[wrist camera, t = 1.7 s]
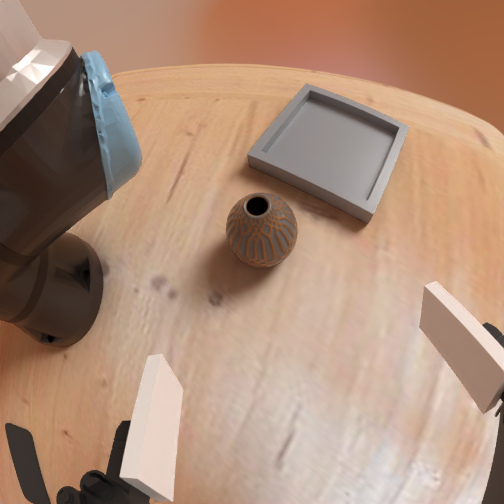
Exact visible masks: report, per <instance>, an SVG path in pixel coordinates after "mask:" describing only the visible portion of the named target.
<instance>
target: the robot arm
mask: <svg viewBox="0 0 504 504" xmlns="http://www.w3.org/2000/svg"><path fill="white" fill-rule="evenodd" d="M115 89H116V87H115V85H114V83H113V81H112V78H111V75H110V72H109V70H108V68H107V66H106V64H105V62H104V60H103V58H102V57H101V55H100V54H99V53H98V52H97V51H91V52H89V53H88V52H85V53H84V54H82V55H81V56H80V58H79V57H78V56H77V54H76V52H75V50H74V49H73V47H72V45H71V44H70V42H69V41H64V40H48V39H43V38H42V37H40V35H39V33H38V32H37V30H36V29H35V27H34V25H33V23H32V22H31V20H30V18H29V17H28V15H27V13H26V12H25V10H24V8H23V7H22V5H21V3H20V1H19V0H0V320H1V321H6V322H9V323H13V324H14V325H16V326H17V327H18V328H20V329H21V330H22V331H24V332H25V333H27V334H28V335H29V336H31V337H32V338H34V339H35V340H37V341H38V342H40V343H43V344H46V345H51V346H58V347H64V346H69V345H71V344H73V343H75V342H77V341H78V340H80V339H81V338H82V337H83V336H84V335H85V334H86V333H87V332H88V330H89V329H90V327H91V326H92V324H93V322H94V320H95V318H96V316H97V313H98V311H99V308H100V304H101V300H102V293H103V274H102V268H101V264H100V261H99V258H98V256H97V254H96V252H95V251H94V249H93V248H92V247H91V246H90V245H89V244H88V243H86V242H85V241H83V240H82V239H80V238H79V237H77V236H76V235H73V234H71V233H66V231H67V230H69V229H70V228H71V227H72V226H73V225H75V224H76V223H77V222H78V221H80V220H81V219H82V218H83V217H85V216H86V215H87V214H88V213H90V212H91V211H92V210H94V209H95V208H96V207H97V206H99V205H100V204H101V203H103V202H104V201H105V200H109V199H110V198H111V197H112V196H113V193H114V192H115V191H116V190H118V189H119V188H120V187H121V186H123V185H124V184H125V183H126V182H128V181H129V180H130V179H132V178H133V177H134V176H135V175H136V174H137V172H138V171H139V168H140V166H141V163H142V152H141V148H140V145H139V142H138V139H137V136H136V134H135V131H134V129H133V126H132V123H131V121H130V119H129V116H128V114H127V111H126V109H125V107H124V104H123V102H122V100H121V98H120V95H119V94H118V92H117V91H116V90H115ZM419 327H420V328H421V330H422V331H423V332H424V333H425V335H426V336H427V337H428V338H429V340H430V341H431V342H432V344H433V345H434V346H435V347H436V349H437V350H438V351H439V353H440V354H441V355H442V357H443V358H444V359H445V361H446V362H447V363H448V365H449V366H450V367H451V369H452V370H453V371H454V373H455V374H456V376H457V377H458V378H459V380H460V381H461V382H462V384H463V385H464V387H465V388H466V390H467V391H468V392H469V394H470V395H471V397H472V398H473V400H474V401H475V403H476V404H477V406H478V407H479V409H480V410H481V412H482V413H483V414H484V413H486V412H487V411H489V410H490V409H492V408H493V407H495V406H496V404H497V402H498V401H499V399H500V398H501V400H502V401H503V403H502V404H501V406H500V407H499V409H498V410H497V412H496V414H495V417H497V416H498V414H499V413H500V421H499V429H498V436H497V442H496V448H495V453H494V458H493V463H492V467H491V472H490V476H489V480H488V483H487V487H486V491H485V494H484V497H483V501H482V504H504V335H502V333H501V332H500V331H499V330H498V329H497V328H496V327H495V326H493V325H491V324H489V323H487V322H486V323H485V324H483V325H481V324H480V323H479V322H478V321H477V320H476V319H475V318H474V317H473V316H472V315H471V314H470V313H469V312H468V311H467V310H466V309H465V308H464V307H463V306H462V305H461V304H460V303H459V302H458V301H457V300H456V299H455V298H454V297H453V296H451V295H450V294H449V293H448V292H447V291H446V290H445V289H444V288H443V287H442V286H441V285H440V284H438V283H437V282H436V281H435V282H432V283H429V284H427V285H424V293H423V303H422V312H421V319H420V326H419ZM182 396H183V388H182V386H181V385H180V383H179V381H178V380H177V378H176V377H175V375H174V373H173V372H172V370H171V368H170V367H169V365H168V363H167V362H166V360H165V358H164V356H163V355H162V354H157V355H150V356H148V358H147V361H146V365H145V369H144V372H143V376H142V380H141V384H140V387H139V391H138V395H137V399H136V403H135V407H134V411H133V415H132V420H131V421H122V422H121V424H120V425H119V427H118V428H117V430H116V434H115V438H114V442H113V446H112V448H113V449H112V450H111V454H110V459H109V463H108V468H107V472H106V475H105V474H104V473H102V472H100V471H98V470H92V471H89V472H87V473H86V474H85V475H83V477H82V479H81V481H80V488H81V491H78V490H76V489H75V488H73V487H70V486H65V487H63V488H61V489H60V490H59V491H58V494H57V500H56V501H57V504H150V503H149V499H150V498H152V499H154V500H155V501H163V502H173V494H174V480H175V467H176V455H177V444H178V433H179V423H180V414H181V405H182ZM500 411H501V412H500Z"/></svg>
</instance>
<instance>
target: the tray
mask: <svg viewBox="0 0 504 504" xmlns="http://www.w3.org/2000/svg"><path fill="white" fill-rule="evenodd" d="M408 129H409V126H407V125H405V124H403V123H401V122H399V121H397V120H395V119H393V118H391V117H389V116H387V115H385V114H383V113H380V112H378V111H376V110H374V109H372V108H369V107H367V106H365V105H362V104H360V103H358V102H355V101H353V100H350V99H348V98H345V97H343V96H340V95H337V94H335V93H332V92H329V91H327V90H324V89H321V88H318V87H315V86H312V85H309V84H305V85H304V87H303V88H302V89H301V90H300V91H299V92H298V93H297V95H296V96H295V97H294V98H293V99H292V100H291V101H290V103H289V104H288V105H287V106H286V107H285V109H284V110H283V111H282V112H281V113H280V114H279V116H278V117H277V118H276V119H275V120H274V122H273V123H272V124H271V125H270V126H269V128H268V129H267V130H266V131H265V133H264V134H263V135H262V136H261V137H260V139H259V140H258V141H257V142H256V144H255V145H254V146H253V147H252V149H251V150H250V151H249V152H248V154H247V156H248V161H249V166H250V167H252V168H255V169H257V170H259V171H261V172H264V173H266V174H268V175H270V176H272V177H275V178H277V179H279V180H281V181H283V182H285V183H288V184H290V185H292V186H294V187H296V188H298V189H300V190H302V191H304V192H306V193H308V194H311V195H313V196H315V197H317V198H319V199H321V200H323V201H325V202H327V203H329V204H331V205H333V206H335V207H336V208H338V209H340V210H342V211H344V212H346V213H348V214H350V215H352V216H354V217H356V218H357V219H359V220H361V221H363V222H365V223H367V224H368V223H369V222H370V220H371V218H372V216H373V214H374V212H375V210H376V208H377V206H378V203H379V201H380V199H381V196H382V194H383V192H384V190H385V187H386V185H387V182H388V180H389V178H390V175H391V173H392V170H393V168H394V165H395V163H396V160H397V158H398V155H399V153H400V150H401V147H402V145H403V142H404V139H405V137H406V134H407V131H408Z"/></svg>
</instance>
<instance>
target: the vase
mask: <svg viewBox="0 0 504 504" xmlns="http://www.w3.org/2000/svg"><path fill="white" fill-rule="evenodd" d="M226 236H227V240H228V243H229V245H230V247H231V249H232V251H233V252H234V254H235V255H236V256H237V257H238V258H239V259H240V260H241V261H243V262H244V263H246V264H248V265H251V266H254V267H261V268H264V267H271V266H274V265H277V264H279V263H280V262H282V261H283V260H284V259H286V258H287V257H288V255H289V254H290V253H291V252H292V250H293V248H294V246H295V243H296V239H297V222H296V218H295V216H294V214H293V212H292V210H291V209H290V207H289V206H288V205H287V204H286V203H285V202H284V201H283V200H282V199H280V198H279V197H277V196H275V195H272V194H268V193H254V194H250V195H248V196H246V197H244V198H242V199H241V200H239V201H238V202H237V203H236V204H235V205H234V207H233V208H232V210H231V211H230V213H229V216H228V219H227V224H226Z"/></svg>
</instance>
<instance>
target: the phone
mask: <svg viewBox="0 0 504 504" xmlns="http://www.w3.org/2000/svg"><path fill="white" fill-rule="evenodd" d="M5 429H6V434H7V439H8V444H9V448H10V452H11V456H12V460H13V463H14V467H15V470H16V473H17V477H18V480H19V483H20V486H21V489H22V492H23V494H24V496H25V498H26V499H27V500H28V501H30V502H31V503H33V504H51V502H50V500H49V497H48V494H47V491H46V488H45V484H44V481H43V478H42V474H41V471H40V467H39V463H38V459H37V455H36V451H35V446H34V442H33V437H32V435H31V433H30V432H29V431H28V430H26V429H23V428H21V427H18V426H16V425H13V424H10V423H6V425H5Z"/></svg>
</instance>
